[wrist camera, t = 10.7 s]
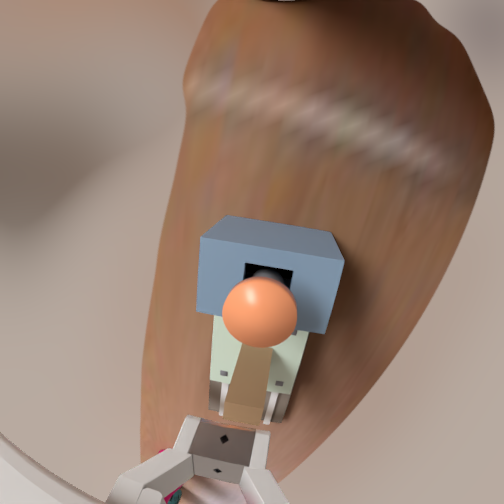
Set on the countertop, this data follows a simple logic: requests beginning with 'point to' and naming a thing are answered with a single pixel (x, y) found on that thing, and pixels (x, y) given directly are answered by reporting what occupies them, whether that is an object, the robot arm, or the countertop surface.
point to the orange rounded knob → (260, 310)
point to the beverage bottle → (175, 497)
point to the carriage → (253, 371)
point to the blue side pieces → (271, 265)
